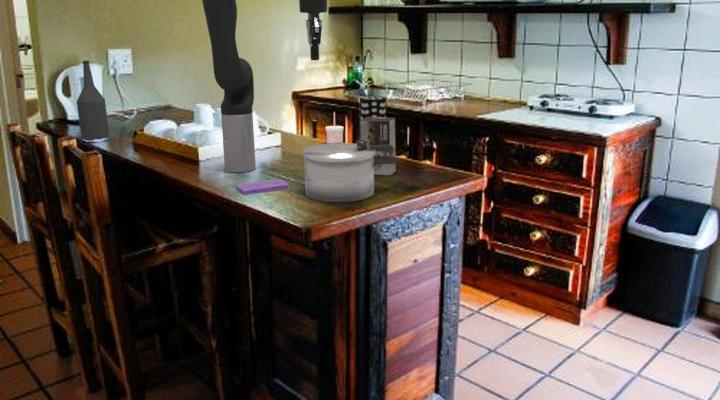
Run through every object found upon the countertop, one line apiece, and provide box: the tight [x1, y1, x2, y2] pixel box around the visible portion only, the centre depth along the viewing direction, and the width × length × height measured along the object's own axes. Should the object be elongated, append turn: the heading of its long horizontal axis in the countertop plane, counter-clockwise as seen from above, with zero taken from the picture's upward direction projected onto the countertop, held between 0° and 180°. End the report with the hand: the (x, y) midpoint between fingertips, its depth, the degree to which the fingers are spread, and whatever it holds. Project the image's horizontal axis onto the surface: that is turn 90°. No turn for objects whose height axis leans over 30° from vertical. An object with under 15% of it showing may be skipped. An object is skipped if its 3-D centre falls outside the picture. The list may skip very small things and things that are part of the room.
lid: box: [301, 140, 393, 163], centre depth 161 cm, size 24×20×3 cm
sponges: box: [235, 178, 290, 196], centre depth 168 cm, size 7×13×2 cm, turn 116°
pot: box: [303, 156, 397, 203], centre depth 163 cm, size 24×18×10 cm
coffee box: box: [359, 116, 397, 176], centre depth 183 cm, size 9×6×16 cm
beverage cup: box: [325, 111, 344, 143], centre depth 210 cm, size 6×6×14 cm
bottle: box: [76, 60, 111, 140], centre depth 234 cm, size 10×10×30 cm
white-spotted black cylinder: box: [359, 96, 387, 141], centre depth 198 cm, size 8×8×20 cm
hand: (314, 60), depth 172 cm, fingers closed
